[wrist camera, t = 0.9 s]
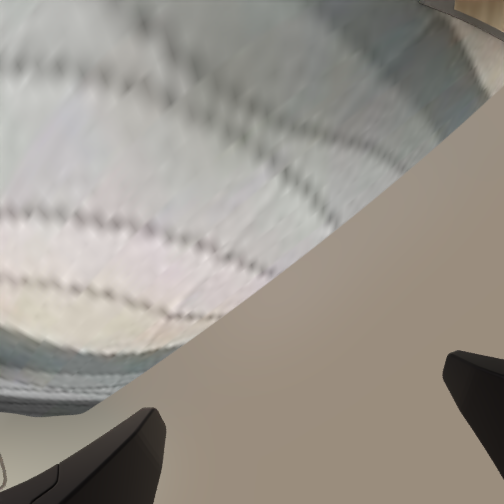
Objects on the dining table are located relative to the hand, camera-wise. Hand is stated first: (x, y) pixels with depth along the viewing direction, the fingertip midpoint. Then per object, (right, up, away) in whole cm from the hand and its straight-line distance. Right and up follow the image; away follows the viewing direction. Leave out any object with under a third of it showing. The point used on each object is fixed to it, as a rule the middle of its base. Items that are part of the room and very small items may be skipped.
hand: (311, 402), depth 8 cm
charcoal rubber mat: (+14, +26, -5) cm, 30 cm away
